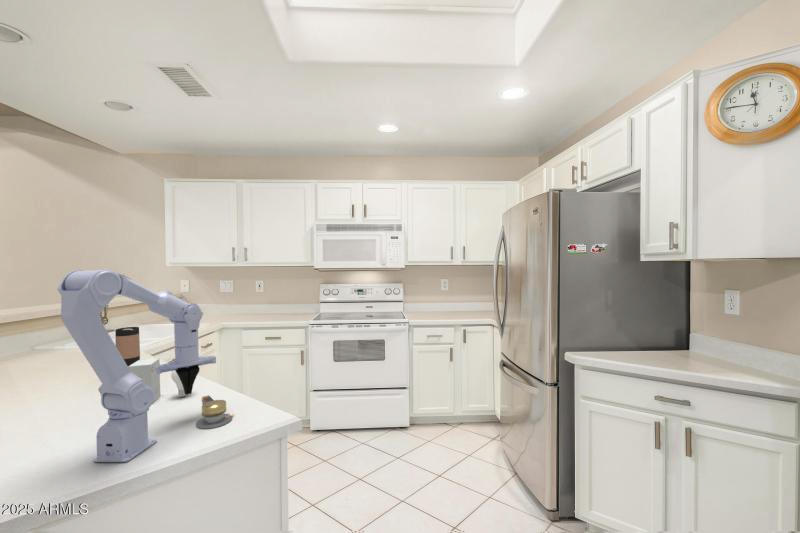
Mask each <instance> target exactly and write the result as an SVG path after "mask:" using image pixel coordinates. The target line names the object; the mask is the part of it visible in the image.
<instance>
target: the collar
mask: <svg viewBox="0 0 800 533" xmlns="http://www.w3.org/2000/svg"><path fill="white" fill-rule="evenodd" d="M201 404H202V405H201V415H202V418H204V417H214V416H218V415H221V414H226V412H227V400H224V399H215V400H214V399H213V398H212V397H211V395H209V394H208V395H204V396H202V397H201Z"/></svg>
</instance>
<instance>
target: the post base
mask: <svg viewBox="0 0 800 533" xmlns="http://www.w3.org/2000/svg"><path fill="white" fill-rule="evenodd" d="M233 416H235V414H234V413H233V414H229V413H223V414H221V415H218V416H214V417H202V418H200V419H199V420H198V421H197V422H195V427H196V428H197V429H199V430H212V429H216V428H220V427H223V426H226V425H227V424H230V423H231V422H232V420H233Z"/></svg>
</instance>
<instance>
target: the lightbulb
mask: <svg viewBox="0 0 800 533" xmlns="http://www.w3.org/2000/svg"><path fill="white" fill-rule="evenodd" d="M170 375H171V376H170V377H171V379H172V381H173V382H174V384H176V388H177V392H178V394H177V395H178V397H180V398H184V397H186V396H187V395H186V394H185V393H184V388H183V385H182V382H181V380H180V378H179V376H178V374H177V373H176V371H175V370H174V371H171V374H170Z"/></svg>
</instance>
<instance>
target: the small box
mask: <svg viewBox="0 0 800 533" xmlns="http://www.w3.org/2000/svg"><path fill="white" fill-rule="evenodd" d="M158 365H161V364H160V358H147V359H140V360H138V361H136V362H135V363H133V364H132V365H130V366H128V368H129V369H130V371H131V372H132V373H133V374H135V375H136V376H138V377H139V378H141V379H142V380H143V381H144V383H145V384H146V385H148V386H150V387H152V388H153V390H154V392H155V398H154V401H153V403H152V405H153V404H154V403H155V402H156V401H157V399H159V398H160V397H161V374H156V366H158Z"/></svg>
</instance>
